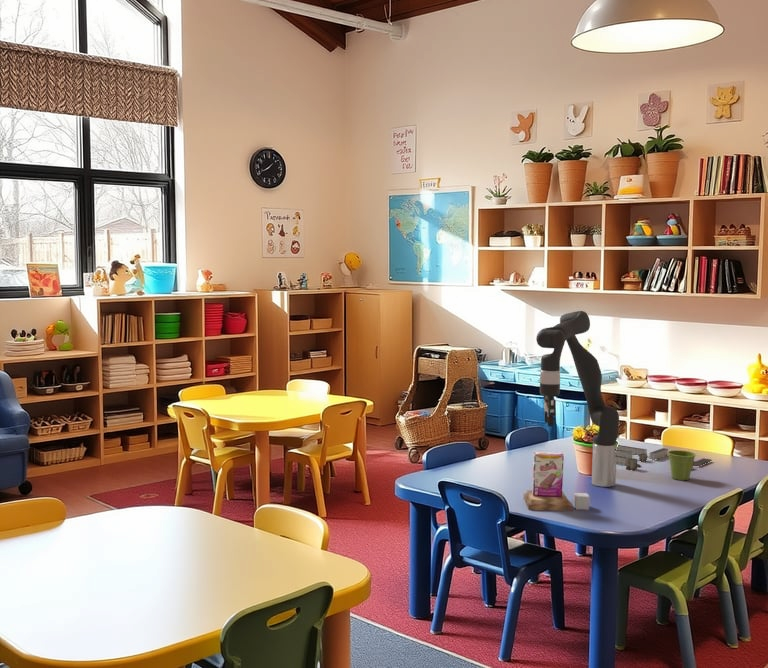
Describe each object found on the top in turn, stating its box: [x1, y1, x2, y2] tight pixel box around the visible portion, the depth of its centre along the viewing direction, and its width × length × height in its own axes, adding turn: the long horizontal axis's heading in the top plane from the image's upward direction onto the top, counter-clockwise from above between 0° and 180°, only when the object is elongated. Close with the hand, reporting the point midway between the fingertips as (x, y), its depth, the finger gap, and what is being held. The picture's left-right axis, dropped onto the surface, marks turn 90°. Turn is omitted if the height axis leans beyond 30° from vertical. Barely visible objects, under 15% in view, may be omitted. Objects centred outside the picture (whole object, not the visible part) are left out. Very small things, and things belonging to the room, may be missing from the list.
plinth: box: [523, 489, 573, 512], centre depth 339 cm, size 16×16×4 cm
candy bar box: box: [532, 451, 565, 497], centre depth 338 cm, size 11×5×16 cm, turn 85°
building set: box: [615, 444, 713, 472], centre depth 414 cm, size 45×43×5 cm
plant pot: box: [667, 449, 697, 481], centre depth 382 cm, size 12×12×11 cm
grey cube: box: [573, 492, 591, 510], centre depth 336 cm, size 5×5×5 cm
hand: (549, 424), depth 337 cm, fingers open, 8 cm apart
